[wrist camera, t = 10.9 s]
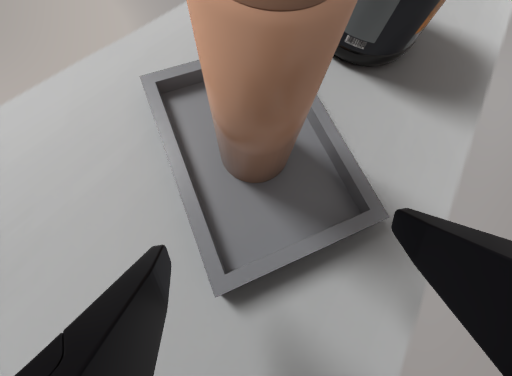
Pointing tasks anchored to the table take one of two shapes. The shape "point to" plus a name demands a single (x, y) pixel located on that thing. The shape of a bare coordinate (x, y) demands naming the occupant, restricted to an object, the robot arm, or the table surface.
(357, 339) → the table surface
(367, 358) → the table surface
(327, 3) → the terracotta cup
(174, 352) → the table surface
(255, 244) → the charcoal tray
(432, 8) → the supplement container
